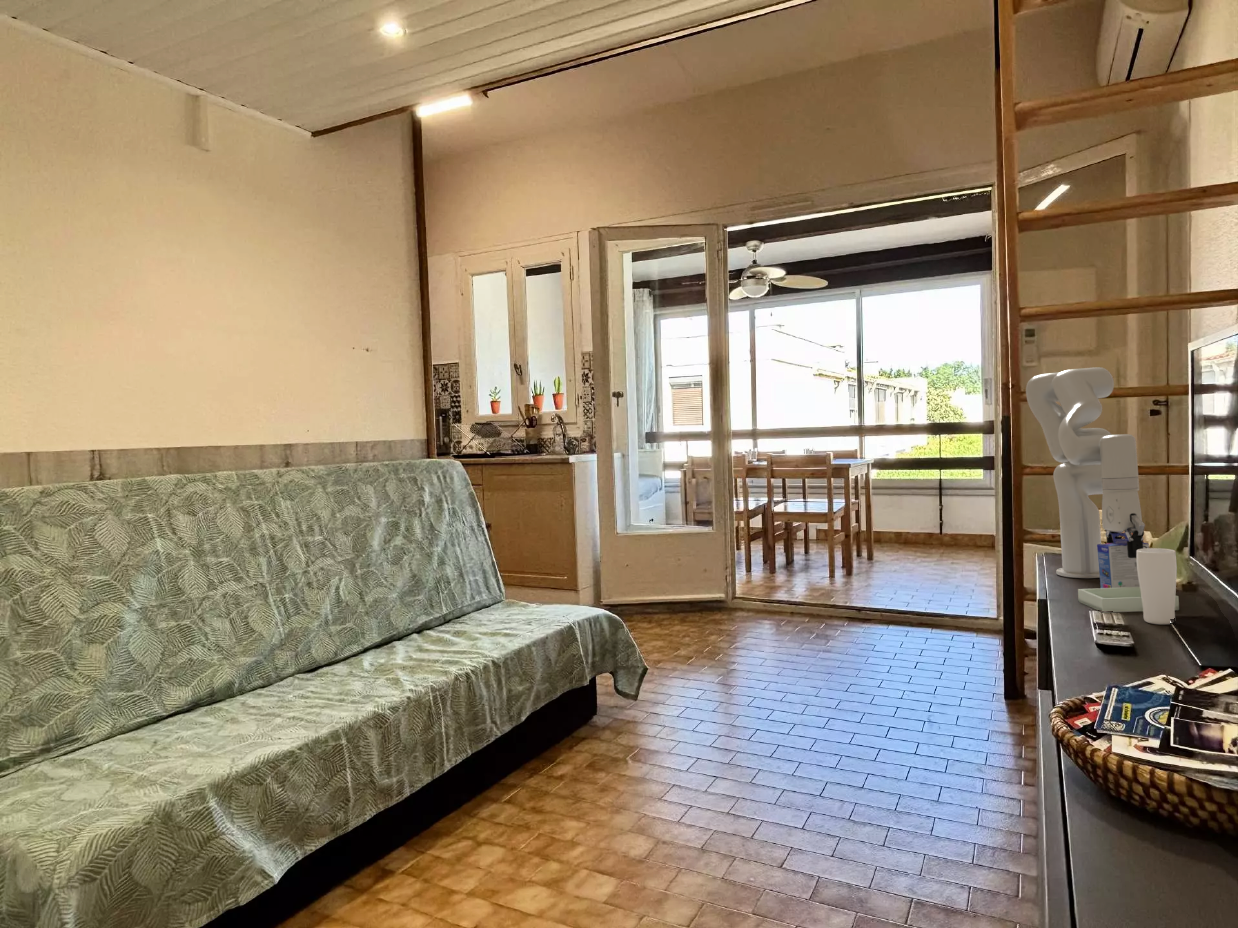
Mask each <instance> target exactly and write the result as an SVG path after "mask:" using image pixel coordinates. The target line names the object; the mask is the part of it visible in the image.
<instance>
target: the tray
mask: <svg viewBox="0 0 1238 928" xmlns="http://www.w3.org/2000/svg"><path fill="white" fill-rule="evenodd" d="M1077 596H1078V597H1077V598H1078V599H1077V600H1078V603H1081V604H1083V605H1085V606H1088V607H1090V608H1092V609H1094V610H1097V611H1098V610H1102V611H1113V612H1112V613H1127V612H1143V606H1142V599H1141V592H1140V587H1121V588H1101V587H1100V588H1077ZM1179 610H1180V602H1179V595H1175V611H1179Z"/></svg>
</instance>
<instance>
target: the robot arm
mask: <svg viewBox="0 0 1238 928" xmlns="http://www.w3.org/2000/svg"><path fill="white" fill-rule="evenodd" d="M1114 387H1115V381H1114V377H1113V375H1112V374H1111V372H1110V371H1109V370H1108V369H1106V368H1104V367H1101V366H1100V367H1099V366H1098V367H1095V366H1094V367H1085V368H1084V367H1083V368H1071V369H1066V370H1063V371H1060V372H1048V373H1041V374H1038V375H1034V376H1033V377H1031V378H1030V379H1029V380H1028V381H1027V383H1026V387H1025V395H1026V401H1027V404H1028V407H1029V408H1030V411H1031V412H1032V414H1033V416H1034V417H1035V419H1036V420H1037V422H1038V423H1039V425H1040V426H1041V428H1042V431H1043V435H1044V439H1045V441H1046V444H1047V446H1048V449H1049V452H1050V455H1051V457H1052V458H1053V459H1054V461H1056V462H1058V463H1060V464H1058V465H1056V467H1055V468H1054V471H1053V482H1054V488H1055V491H1056V495H1057V501H1058V508H1059V509H1058V513H1059V527H1060V546H1061V565H1062V567H1060V568H1057V569H1056V575H1058V576H1061V577H1065V578H1074V579H1100V573H1099V561H1098V550H1097V544H1102V536H1101V535H1102V533H1101V531H1102V530H1101V523H1102V529H1103V530H1104V531H1105V537H1106V543H1113V540H1112V536H1111V534H1112V533H1126V535H1127V537H1128V540H1129V541H1127V551H1128V557H1129V558H1136V551H1137V550H1138V549H1143V543H1144V535H1145V527H1146V524H1145V523H1144V522H1143V518H1142V517H1143V516H1142V509H1141V502H1140V501H1141V500H1140V496H1139V491H1140V481H1139V479H1140V478H1139V467H1138V453H1137V452H1138V451H1137V450H1138V449H1137V441H1136V437H1135V436H1134V435H1132V434H1128V433H1124V434H1121V433H1120V434H1117V433H1116V434H1112V433H1111V432H1110V431H1109V430H1107V429H1105V428H1103V427H1101V428H1100V427H1088V428H1087V427H1086V426H1088V425H1089V424H1091V423H1093V422H1095V421H1096V420H1097V419H1098V418H1100V416H1101V415H1102V412H1103V405H1102V403H1101V402H1100V399H1104V398H1107V397H1109V396H1110V395H1111V394H1112V393H1113V391H1114ZM1058 403H1059V404H1058ZM1083 427H1086V428H1083ZM1091 495H1092V496H1093V495H1102V499H1101V515H1100V510H1099V508H1098V506H1097V505H1096V504H1095V502H1093V501H1092V499H1090V497H1089V496H1091ZM1115 539H1122V536H1116V537H1115Z"/></svg>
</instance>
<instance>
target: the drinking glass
mask: <svg viewBox="0 0 1238 928" xmlns="http://www.w3.org/2000/svg"><path fill="white" fill-rule="evenodd" d="M1176 555H1177V554H1176V550H1174V549H1172V548H1171V549H1170V548H1163V547H1162V548H1161V547H1160V548H1159V547H1157V548H1156V547H1155V548H1154V547H1149V548H1144V549H1138V550H1137V551H1136V561H1137V573H1138V580H1139V586H1140V592H1141V599H1142V606H1143V611H1142V614H1143V615H1142V616H1143V621H1144V622H1146V623H1149V624H1152V625H1161V626H1163V625H1171V624H1170V619H1174V618H1175V619H1176V612H1175V611H1176V610H1175V595H1176V594H1177V593H1176V591H1177V587H1176V586H1177V571H1178V568H1177V556H1176ZM1176 596H1177V595H1176Z"/></svg>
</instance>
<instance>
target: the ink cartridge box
mask: <svg viewBox="0 0 1238 928" xmlns="http://www.w3.org/2000/svg"><path fill="white" fill-rule="evenodd" d="M1111 536H1112V540H1113V543H1107V542H1106V543H1101V544H1097V550H1098V561H1099V573H1100V578H1099V581H1100V582H1099V585H1100V588H1121V587H1140V586H1139V580H1138V573H1137V561H1136V558H1129V557H1128V551H1127V541H1129V540H1128V537H1127V535H1126V533H1125V532H1122V533H1112V534H1111ZM1116 536H1119V537H1123V538H1121V539H1115V537H1116ZM1144 548H1150V544H1149V543H1148V542H1143V549H1144Z"/></svg>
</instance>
